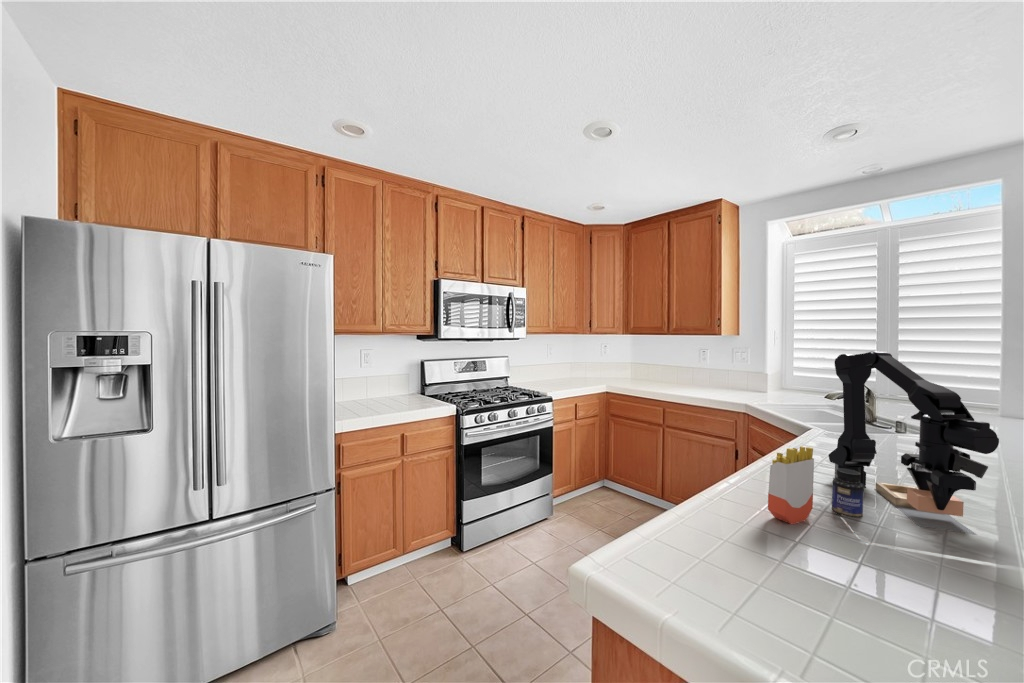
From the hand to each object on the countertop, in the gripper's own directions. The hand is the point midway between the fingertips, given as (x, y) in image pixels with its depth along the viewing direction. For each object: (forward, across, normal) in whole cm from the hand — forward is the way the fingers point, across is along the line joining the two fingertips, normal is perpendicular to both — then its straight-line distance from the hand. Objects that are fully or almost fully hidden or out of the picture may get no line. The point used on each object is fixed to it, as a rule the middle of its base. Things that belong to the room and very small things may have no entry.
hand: (933, 505), depth 98 cm
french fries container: (+4, -13, +32) cm, 35 cm away
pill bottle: (+4, -4, +18) cm, 19 cm away
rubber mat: (+4, +7, 0) cm, 8 cm away
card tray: (+4, +13, 0) cm, 13 cm away
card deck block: (+1, 0, 0) cm, 1 cm away
